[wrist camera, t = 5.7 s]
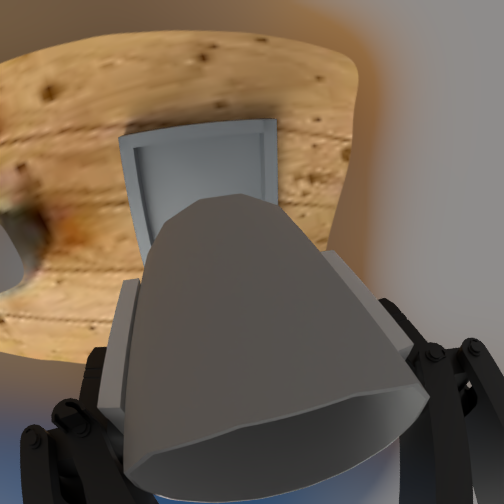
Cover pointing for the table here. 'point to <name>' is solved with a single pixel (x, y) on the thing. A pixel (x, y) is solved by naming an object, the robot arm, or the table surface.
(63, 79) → the table surface
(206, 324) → the cup
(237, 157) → the tray
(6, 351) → the table surface
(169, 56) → the table surface
